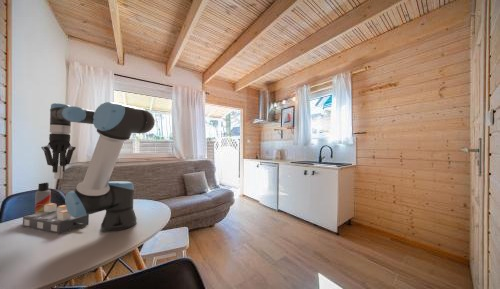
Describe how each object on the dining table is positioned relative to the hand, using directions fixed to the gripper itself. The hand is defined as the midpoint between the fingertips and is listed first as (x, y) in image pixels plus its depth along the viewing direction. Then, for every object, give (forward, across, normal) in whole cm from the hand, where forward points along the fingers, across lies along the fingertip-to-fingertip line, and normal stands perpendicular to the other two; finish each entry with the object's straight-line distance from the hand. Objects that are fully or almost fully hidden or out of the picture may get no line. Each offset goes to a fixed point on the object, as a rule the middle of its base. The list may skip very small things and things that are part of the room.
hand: (58, 178), depth 93 cm
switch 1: (+19, +2, +10) cm, 22 cm away
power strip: (+24, 0, +3) cm, 25 cm away
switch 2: (+19, -2, 0) cm, 19 cm away
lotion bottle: (+25, -4, -20) cm, 32 cm away
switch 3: (+19, -2, -10) cm, 22 cm away
